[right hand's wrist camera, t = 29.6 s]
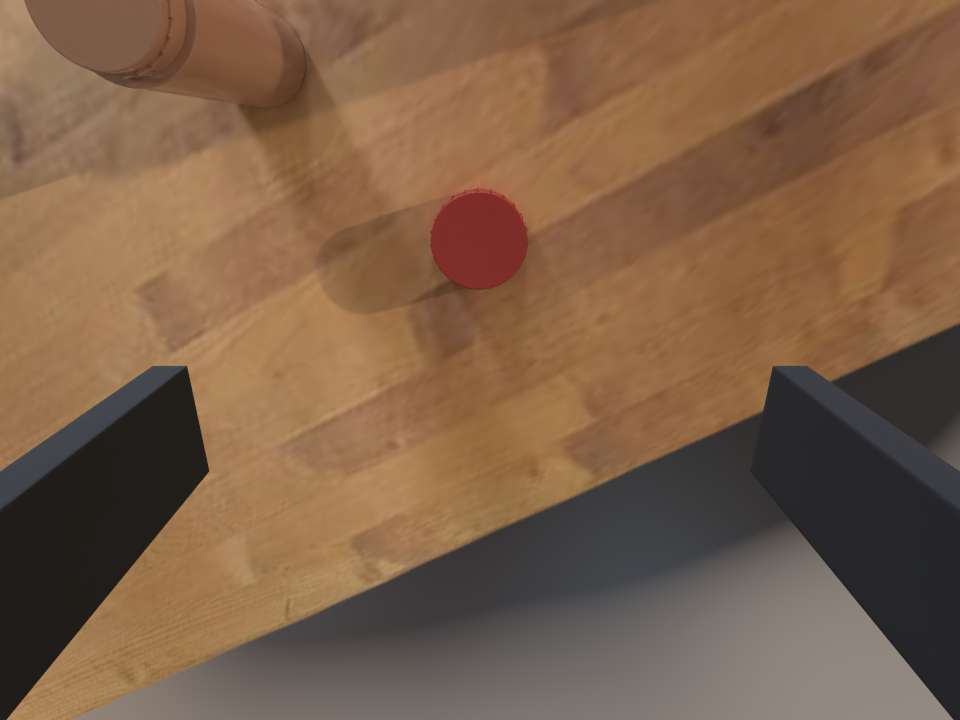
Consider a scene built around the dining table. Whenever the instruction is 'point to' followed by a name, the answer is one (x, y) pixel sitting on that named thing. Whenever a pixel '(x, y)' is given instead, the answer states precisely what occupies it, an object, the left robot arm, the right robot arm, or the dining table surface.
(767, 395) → the right robot arm
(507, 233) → the lid
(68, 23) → the jar
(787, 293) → the dining table surface
